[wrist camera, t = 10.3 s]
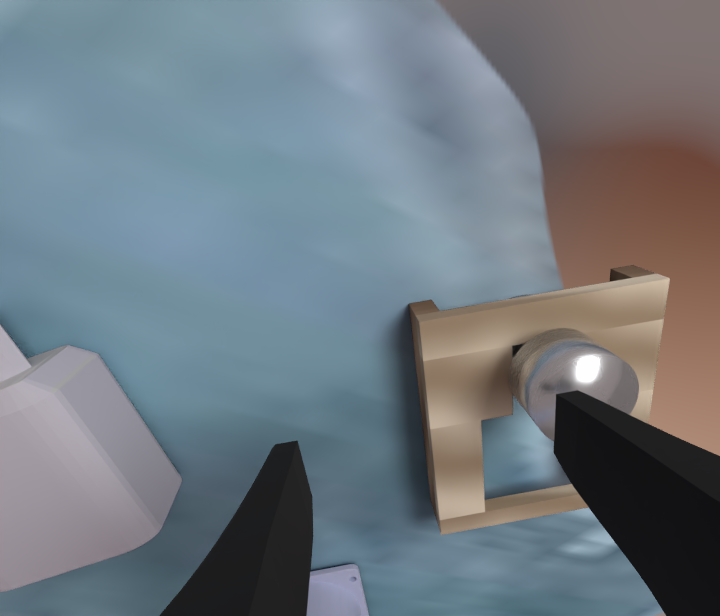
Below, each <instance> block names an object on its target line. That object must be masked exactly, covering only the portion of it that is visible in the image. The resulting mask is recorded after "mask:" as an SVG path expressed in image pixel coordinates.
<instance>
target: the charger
mask: <svg viewBox="0 0 720 616" xmlns="http://www.w3.org/2000/svg"><path fill="white" fill-rule="evenodd" d="M181 483H182V478H181V476H180V475H179V473H178V472H177V470H176V469H175V467H174V466H173V464H172V463H171V461H170V460H169V458H168V457H167V455H166V454H165V452H164V451H163V449H162V448H161V446H160V445H159V443H158V442H157V440H156V439H155V437H154V436H153V434H152V433H151V431H150V430H149V428H148V427H147V425H146V424H145V422H144V421H143V420H142V418H141V417H140V415H139V414H138V412H137V411H136V409H135V408H134V406H133V405H132V403H131V402H130V400H129V399H128V397H127V396H126V394H125V393H124V391H123V390H122V388H121V387H120V385H119V384H118V382H117V381H116V379H115V378H114V376H113V375H112V373H111V372H110V370H109V369H108V367H107V366H106V364H105V363H104V361H103V360H102V358H101V357H100V355H99V354H98V353H94V352H91V351H87V350H84V349H80V348H77V347H73V346H70V345H65V346H61V347H58V348H55V349H52V350H50V351H47V352H44V353H41V354H38V355H35V356H32V357H30V358H26V357H25V356H24V354H23V353H22V352H21V350H20V349H19V348H18V346H17V345H16V344H15V342H14V341H13V340H12V338H11V337H10V336H9V335H8V333H7V332H6V331H5V329H4V328H3V327H2V325H1V324H0V592H2V591H8V590H12V589H16V588H19V587H22V586H25V585H28V584H31V583H34V582H37V581H40V580H43V579H47V578H50V577H53V576H56V575H59V574H62V573H65V572H68V571H71V570H74V569H77V568H80V567H84V566H87V565H90V564H93V563H96V562H99V561H102V560H105V559H108V558H111V557H114V556H118V555H121V554H123V553H126V552H129V551H131V550H133V549H135V548H137V547H139V546H141V545H143V544H145V543H146V542H148V541H149V540H151V539H152V538H153V537H154V536H155V535H157V534H158V533H159V531H160V530H161V528H162V527H163V524H164V522H165V520H166V517H167V515H168V513H169V510H170V508H171V506H172V503H173V501H174V499H175V496H176V494H177V492H178V490H179V487H180V485H181Z"/></svg>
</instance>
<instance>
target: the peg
mask: <svg viewBox="0 0 720 616" xmlns="http://www.w3.org/2000/svg"><path fill="white" fill-rule="evenodd" d="M525 296H530V295H521V296H517V297H513V298H519V297H525ZM513 298H510V299H513ZM508 381H509V386H510V389H511V392H512V394H513V395H514V397H515V398H516V399H517V400H518V402H519V403H520V404H521V406H522V407H523V408H524V409H525V411H526V412H527V413H528V415H529V416H530V417H531V418H532V420H533V421H534V422H535V424H536V425H537V426H538V427H539V429H540V430H541V431H542V432H543V433H544V435H545V436H547V437H548V438H549V439H551V440H553V441H554V433H555V408H556V394H559V393H565V392H570V391H576V390H578V391H581V392H583V393H585V394H588V395H590V396H592V397H594V398H596V399H598V400H600V401H602V402H604V403H606V404H609V405H611V406H613V407H615V408H617V409H619V410H621V411H623V412H625V413H627V414H629V415H630V414H631V412H632V410H633V409H634V407H635V404H636V402H637V399H638V394H639V382H638V378H637V375H636V373H635V371H634V370H633V369H632V367H631V366H630V365H629V364H628V363H626V362H625V361H624V360H622V359H621V358H619V357H618V356H616V355H615V354H613V353H612V352H611V351H609V350H608V349H606V348H605V347H603V346H602V345H601V344H599V343H598V342H596V341H595V340H593V339H592V338H590V337H589V336H588V335H586V334H584V333H583V332H581V331H578V330H575V329H570V328H557V329H552V330H548V331H545V332H543V333H540V334H539V335H537V336H535V337H533V338H532V339H530V340H529V341H528V342H527V343H524V344H519V345H513V346H512V363H511V366H510V369H509V375H508Z"/></svg>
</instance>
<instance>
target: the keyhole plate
mask: <svg viewBox="0 0 720 616" xmlns="http://www.w3.org/2000/svg"><path fill="white" fill-rule="evenodd" d="M669 281H670V279H669V278H667V277H665V276H661V275H659V274H656V273H654V272H651V271H648V270H645V269H642V268H640V267H637V266H634V265H631V266H625V267H619V268H613V269H611V273H610V282H605V283H600V284H594V285H588V286H583V287H577V288H571V289H565V290H559V291H553V292H548V293H542V294H536V295H530V296H525V297H519V298H513V299H507V300H501V301H496V302H490V303H484V304H478V305H473V306H467V307H461V308H455V309H450V310H444V311H439V309H438V308H437V306H436V305H435V304H434V302H433V301H432V300H427V301H422V302H416V303H410V304H409V309H410V318H411V327H412V336H413V345H414V354H415V363H416V371H417V380H418V389H419V398H420V407H421V416H422V425H423V434H424V443H425V452H426V461H427V469H428V478H429V487H430V496H431V503H432V506H433V510H434V513H435V516H436V519H437V523H438V526H439V529H440V532H441V535H443V534H449V533H454V532H459V531H465V530H470V529H475V528H481V527H486V526H491V525H497V524H502V523H507V522H513V521H518V520H524V519H529V518H534V517H540V516H545V515H550V514H556V513H561V512H566V511H572V510H577V509H582V508H588V506H587V504H586V503H585V502H584V500H583V499H582V498H581V496H580V495H579V494H578V492H577V491H576V489H575V488H574V487H573V485H572V484H568V485H563V486H557V487H552V488H547V489H541V490H536V491H530V492H525V493H520V494H514V495H509V496H503V497H498V498H493V499H487V500H485V499H484V476H483V453H482V431H481V420H486V419H491V418H497V417H502V416H508V415H513V394H512V392H511V389H510V386H509V381H508V375H509V369H510V366H511V363H512V346H513V345H519V344H524V343H527V342H528V341H529V340H530V339H532V338H533V337H535V336H537V335H539V334H540V333H543V332H545V331H548V330H552V329H557V328H570V329H575V330H578V331H581V332H583V333H584V334H586V335H588V336H589V337H590V338H592V339H593V340H595V341H596V342H598V343H599V344H601V345H602V346H603V347H605V348H606V349H608V350H609V351H611V352H612V353H613V354H615V355H616V356H618V357H619V358H621V359H622V360H624V361H625V362H626V363H628V364H629V365H630V366H631V367H632V369H633V370H634V371H635V373H636V375H637V378H638V382H639V394H638V399H637V402H636V404H635V407H634V409H633V410H632V412H631V414H630V415H631V416H633V417H635V418H637V419H639V420H641V421H643V422H645V423H647V424H648V421H649V415H650V408H651V401H652V394H653V387H654V381H655V374H656V368H657V361H658V354H659V347H660V341H661V334H662V327H663V321H664V314H665V307H666V300H667V294H668V287H669Z"/></svg>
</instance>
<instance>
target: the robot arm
mask: <svg viewBox="0 0 720 616" xmlns="http://www.w3.org/2000/svg"><path fill="white" fill-rule="evenodd" d="M554 454H555V456H556V457H557V459H558V461H559V463H560V465H561V466H562V468H563V470H564V472H565V473H566V475H567V477H568V478H569V480H570V482H571V483H572V485H573V487H574V488H575V489H576V491H577V492H578V494H579V495H580V496H581V498H582V499H583V500H584V502H585V503H586V504H587V506H588V507H589V508H590V510H591V511H592V512H593V514H594V515H595V516H596V518H597V519H598V520H599V522H600V523H601V524H602V526H603V527H604V528H605V530H606V531H607V532H608V533H609V535H610V536H611V537H612V539H613V540H614V541H615V543H616V544H617V545H618V547H619V548H620V549H621V551H622V552H623V553H624V555H625V556H626V557H627V558H628V560H629V561H630V562H631V564H632V565H633V566H634V568H635V569H636V571H637V572H638V573H639V575H640V576H641V578H642V579H643V580H644V582H645V583H646V585H647V586H648V588H649V589H650V591H651V592H652V594H653V595H654V597H655V599H656V600H657V602H658V603H659V605H660V606H661V608H662V610H663V611H664V613H665V614H666V616H720V456H718V455H716V454H713V453H711V452H709V451H707V450H704V449H702V448H700V447H697V446H695V445H693V444H690V443H688V442H686V441H684V440H681V439H679V438H677V437H675V436H672V435H670V434H668V433H666V432H664V431H662V430H660V429H657V428H656V427H654V426H651V425H649V424H647V423H645V422H643V421H641V420H639V419H637V418H635V417H633V416H631V415H629V414H627V413H625V412H623V411H621V410H619V409H617V408H615V407H613V406H611V405H609V404H606V403H604V402H602V401H600V400H598V399H596V398H594V397H592V396H590V395H588V394H585V393H583V392H581V391H578V390H576V391H570V392H565V393H559V394H556V408H555V433H554ZM312 543H313V509H312V494H311V491H310V487H309V483H308V479H307V475H306V472H305V468H304V464H303V460H302V456H301V452H300V449H299V445H298V441H292V442H287V443H281V444H276V445H275V446H274V447H273V448H272V450H271V452H270V454H269V455H268V457H267V459H266V461H265V463H264V465H263V467H262V469H261V470H260V472H259V474H258V476H257V478H256V479H255V481H254V483H253V485H252V487H251V488H250V490H249V492H248V493H247V495H246V497H245V498H244V500H243V502H242V503H241V505H240V507H239V508H238V510H237V512H236V513H235V515H234V516H233V518H232V519H231V521H230V523H229V524H228V526H227V527H226V529H225V530H224V532H223V533H222V535H221V536H220V538H219V539H218V541H217V542H216V544H215V545H214V547H213V548H212V549H211V551H210V552H209V554H208V555H207V556H206V558H205V559H204V561H203V562H202V563H201V565H200V566H199V567H198V569H197V570H196V571H195V573H194V574H193V575H192V576H191V578H190V579H189V580H188V582H187V583H186V584H185V586H184V587H183V588H182V589H181V591H180V592H179V593H178V594H177V595H176V597H175V598H174V599H173V600H172V601H171V603H170V604H169V605H168V606H167V607H166V609H165V610H164V611H163V612H162V613H161V614H160V616H369V613H368V608H367V604H366V599H365V595H364V590H363V586H362V581H361V577H360V572H359V568H358V566H357V565H355V564H348V565H343V566H338V567H332V568H327V569H322V570H316V571H311V572H310V569H311V556H312Z"/></svg>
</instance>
